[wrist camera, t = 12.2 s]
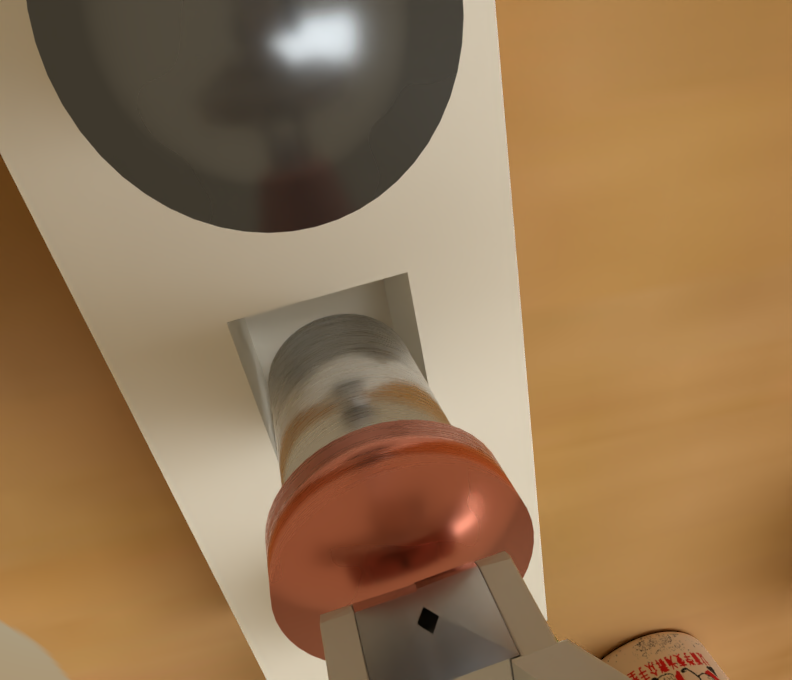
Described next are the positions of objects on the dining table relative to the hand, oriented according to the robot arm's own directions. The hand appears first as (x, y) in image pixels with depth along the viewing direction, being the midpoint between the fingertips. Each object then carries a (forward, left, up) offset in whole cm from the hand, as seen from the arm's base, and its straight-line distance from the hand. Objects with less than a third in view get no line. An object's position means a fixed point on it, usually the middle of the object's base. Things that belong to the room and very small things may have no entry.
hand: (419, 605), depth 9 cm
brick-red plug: (0, 0, -7) cm, 7 cm away
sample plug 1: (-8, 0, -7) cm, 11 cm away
